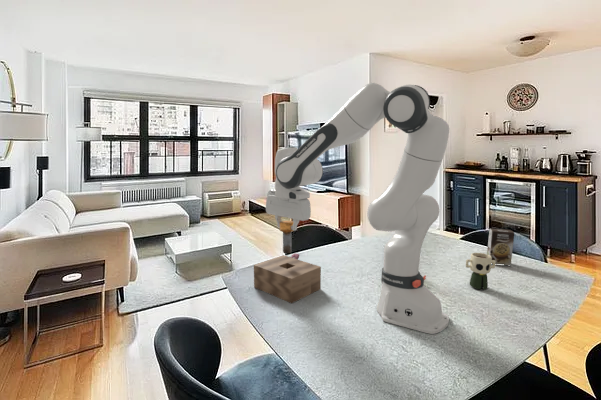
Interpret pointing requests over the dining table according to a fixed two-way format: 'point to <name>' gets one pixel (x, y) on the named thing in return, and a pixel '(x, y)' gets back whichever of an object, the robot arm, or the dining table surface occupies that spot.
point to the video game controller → (295, 256)
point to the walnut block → (287, 278)
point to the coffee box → (500, 245)
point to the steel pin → (286, 235)
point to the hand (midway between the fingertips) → (287, 228)
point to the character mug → (480, 269)
